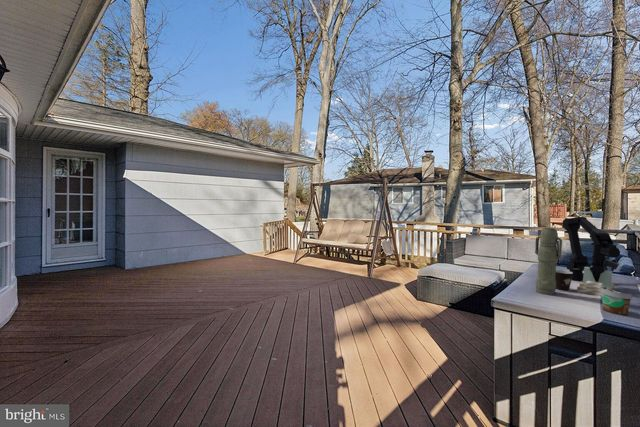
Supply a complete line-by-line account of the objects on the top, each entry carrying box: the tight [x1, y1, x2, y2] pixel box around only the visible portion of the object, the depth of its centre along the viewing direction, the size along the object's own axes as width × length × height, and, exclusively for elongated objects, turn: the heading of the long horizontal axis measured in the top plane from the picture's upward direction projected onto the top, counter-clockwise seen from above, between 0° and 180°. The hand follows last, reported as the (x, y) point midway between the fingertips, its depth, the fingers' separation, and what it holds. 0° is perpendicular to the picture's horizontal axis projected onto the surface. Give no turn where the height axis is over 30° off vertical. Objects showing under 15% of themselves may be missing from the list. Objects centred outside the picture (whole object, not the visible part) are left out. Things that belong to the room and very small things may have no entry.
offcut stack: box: [585, 281, 603, 291], centre depth 176 cm, size 8×6×5 cm
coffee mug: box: [555, 269, 573, 292], centre depth 181 cm, size 12×9×10 cm
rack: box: [576, 282, 615, 297], centre depth 181 cm, size 14×26×2 cm, turn 135°
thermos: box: [534, 227, 563, 296], centre depth 173 cm, size 9×12×35 cm
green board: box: [582, 266, 613, 289], centre depth 184 cm, size 12×4×10 cm, turn 45°
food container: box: [600, 287, 633, 316], centre depth 147 cm, size 12×6×10 cm, turn 5°
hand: (597, 281), depth 184 cm, fingers closed on green board, 4 cm apart
